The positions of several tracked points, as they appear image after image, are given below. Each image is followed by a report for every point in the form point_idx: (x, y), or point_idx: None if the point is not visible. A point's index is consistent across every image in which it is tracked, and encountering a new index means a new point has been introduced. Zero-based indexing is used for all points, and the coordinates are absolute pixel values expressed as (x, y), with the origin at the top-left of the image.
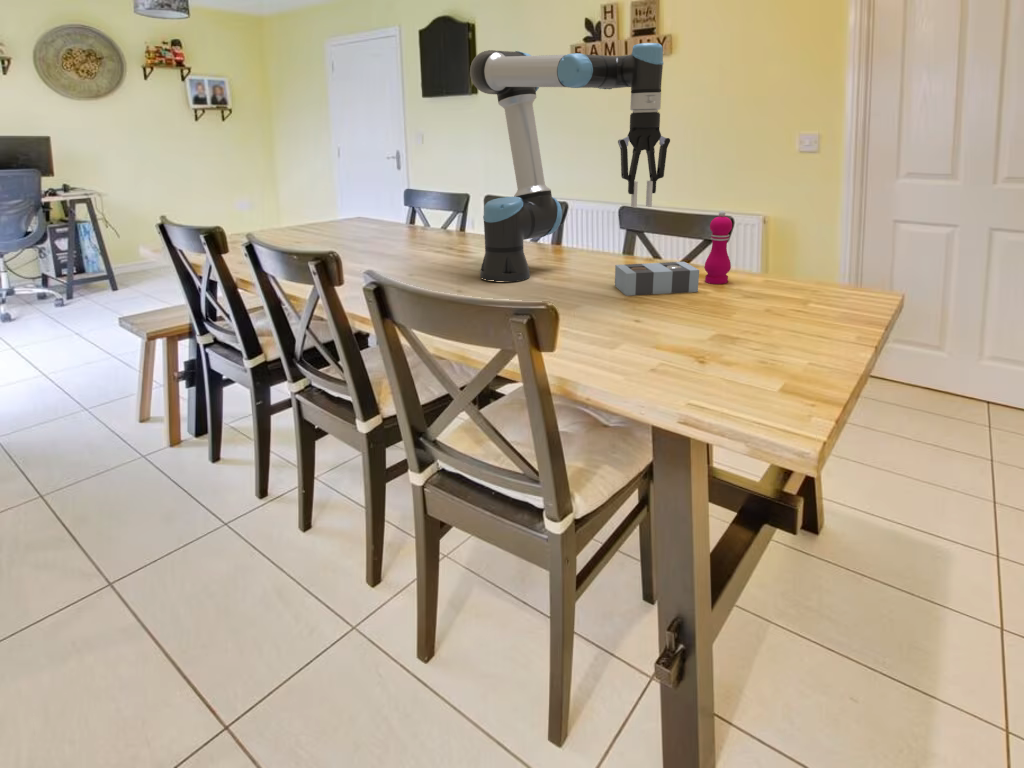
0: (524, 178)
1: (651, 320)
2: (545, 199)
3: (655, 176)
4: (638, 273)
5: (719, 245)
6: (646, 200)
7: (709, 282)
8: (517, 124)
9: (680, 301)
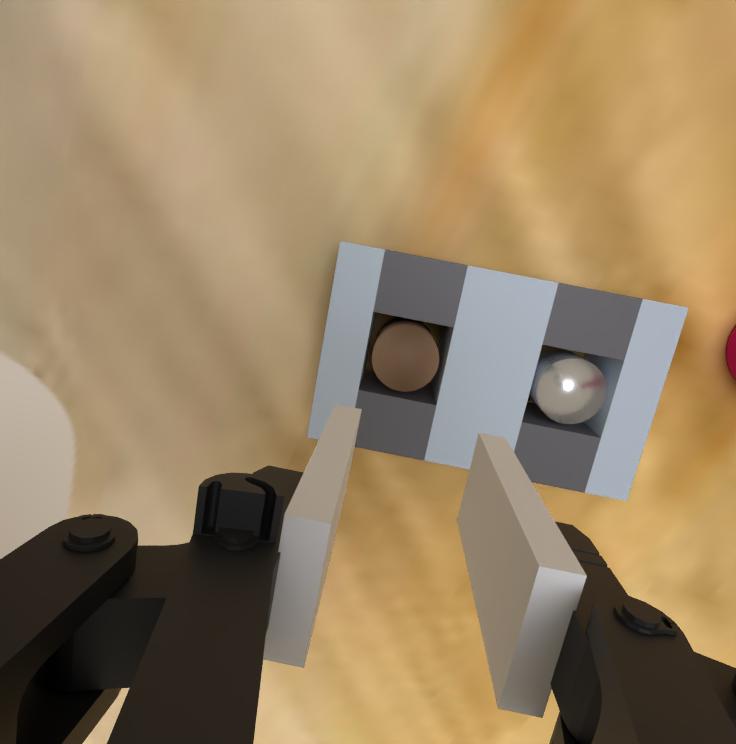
0: None
1: (267, 685)
2: None
3: None
4: (358, 446)
5: None
6: (482, 465)
7: (728, 363)
8: None
9: (456, 549)
